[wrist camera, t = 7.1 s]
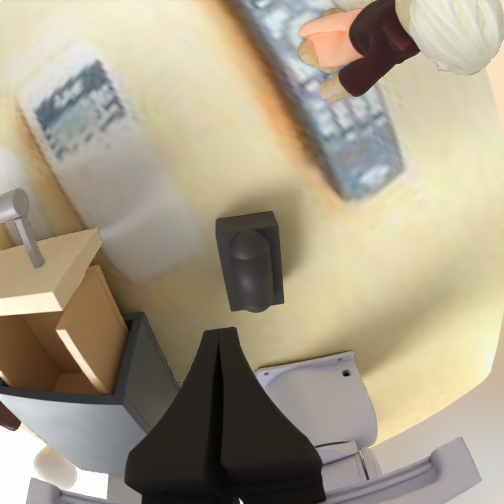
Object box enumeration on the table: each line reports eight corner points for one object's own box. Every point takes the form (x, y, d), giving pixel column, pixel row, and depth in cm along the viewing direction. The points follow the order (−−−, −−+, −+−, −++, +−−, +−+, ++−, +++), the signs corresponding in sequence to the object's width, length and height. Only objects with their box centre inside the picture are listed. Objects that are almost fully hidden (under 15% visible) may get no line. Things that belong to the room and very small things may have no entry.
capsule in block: (272, 210, 19) (282, 234, 16) (278, 284, 22) (287, 315, 19) (215, 219, 19) (215, 245, 16) (229, 292, 22) (231, 324, 19)
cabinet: (28, 321, 22) (-8, 392, 15) (143, 311, 22) (122, 405, 15) (93, 409, 29) (80, 469, 22) (191, 408, 30) (190, 478, 22)
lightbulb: (65, 432, 33) (52, 492, 24) (39, 411, 30) (21, 475, 21) (93, 434, 33) (82, 499, 23) (67, 412, 30) (50, 483, 20)
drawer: (-32, 202, 15) (-86, 245, 9) (77, 159, 15) (14, 199, 9) (57, 368, 24) (37, 423, 18) (157, 366, 24) (149, 433, 18)
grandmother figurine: (321, -15, 12) (455, -106, 1) (375, 16, 13) (541, -16, 2) (269, 86, 15) (378, 80, 4) (327, 114, 16) (489, 175, 5)
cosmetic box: (114, 421, 31) (102, 506, 20) (148, 429, 32) (142, 514, 21) (116, 439, 34) (107, 513, 23) (146, 445, 35) (142, 520, 24)
